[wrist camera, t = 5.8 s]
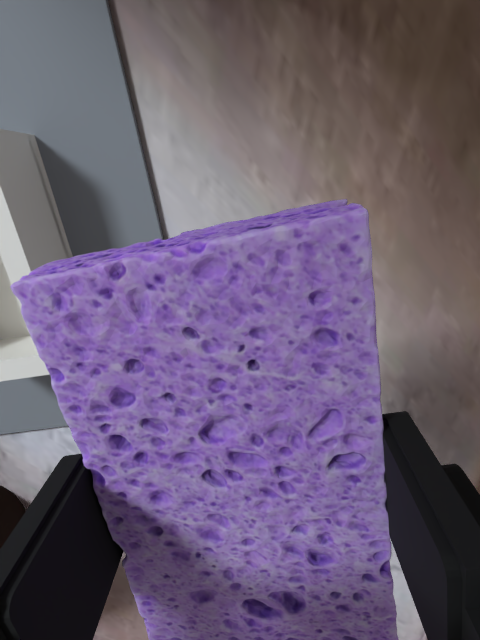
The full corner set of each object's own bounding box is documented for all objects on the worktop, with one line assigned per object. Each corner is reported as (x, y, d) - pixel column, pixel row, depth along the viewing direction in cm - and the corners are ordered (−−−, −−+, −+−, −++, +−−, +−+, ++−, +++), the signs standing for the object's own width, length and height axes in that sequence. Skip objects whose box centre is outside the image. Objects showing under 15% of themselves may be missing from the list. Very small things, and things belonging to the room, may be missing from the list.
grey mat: (-223, 57, 21) (-232, 55, 20) (102, -22, 19) (99, -26, 19) (-39, 436, 29) (-43, 439, 28) (202, 405, 27) (202, 408, 27)
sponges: (174, 616, 13) (162, 683, 12) (42, 254, 9) (-8, 274, 7) (384, 596, 13) (405, 664, 11) (349, 196, 8) (375, 203, 7)
